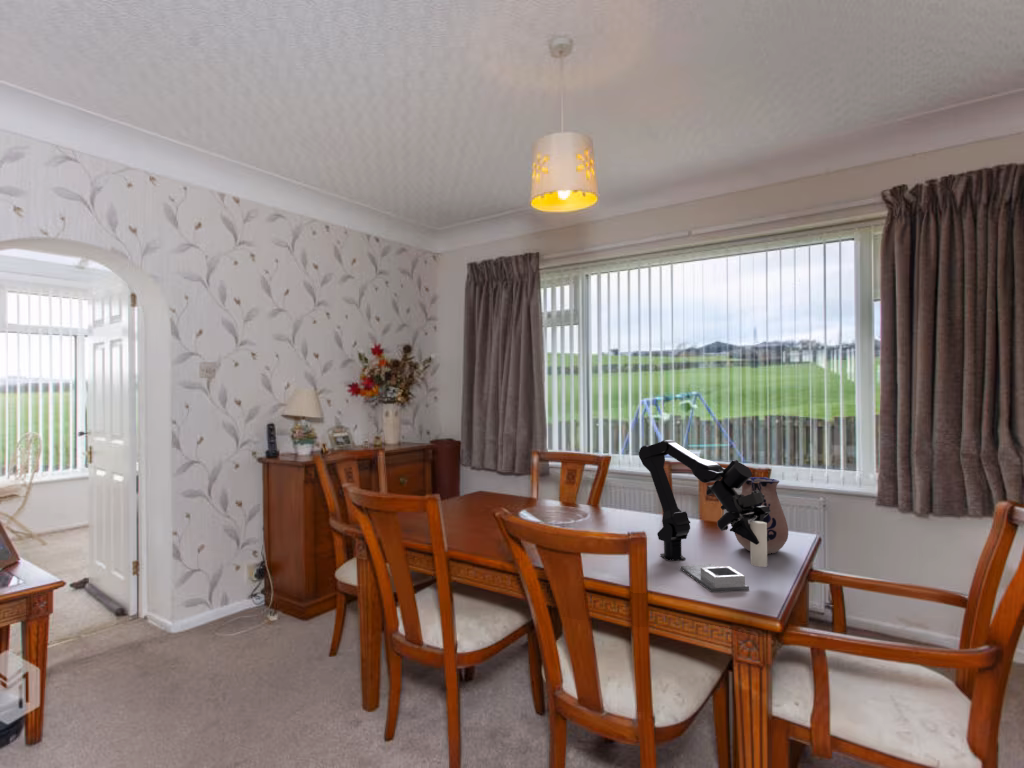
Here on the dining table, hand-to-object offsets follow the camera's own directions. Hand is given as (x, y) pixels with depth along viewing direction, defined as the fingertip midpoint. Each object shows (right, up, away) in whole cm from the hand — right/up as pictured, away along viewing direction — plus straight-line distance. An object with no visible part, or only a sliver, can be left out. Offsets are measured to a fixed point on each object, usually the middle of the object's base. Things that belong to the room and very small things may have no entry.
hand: (762, 542), depth 157 cm
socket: (-12, -13, +6) cm, 19 cm away
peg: (-1, -7, +1) cm, 7 cm away
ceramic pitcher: (+16, -13, +37) cm, 43 cm away
